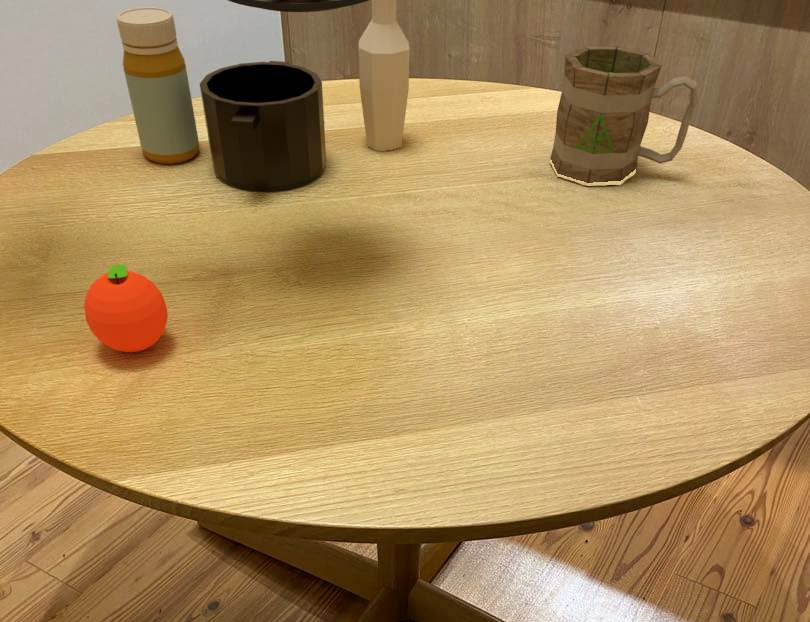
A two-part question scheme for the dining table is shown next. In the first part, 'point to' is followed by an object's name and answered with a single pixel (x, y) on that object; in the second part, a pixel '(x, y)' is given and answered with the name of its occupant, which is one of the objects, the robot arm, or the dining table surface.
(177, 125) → the bottle
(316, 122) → the pot
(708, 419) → the dining table surface
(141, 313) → the clementine
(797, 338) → the dining table surface
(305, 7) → the lid
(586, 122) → the mug
